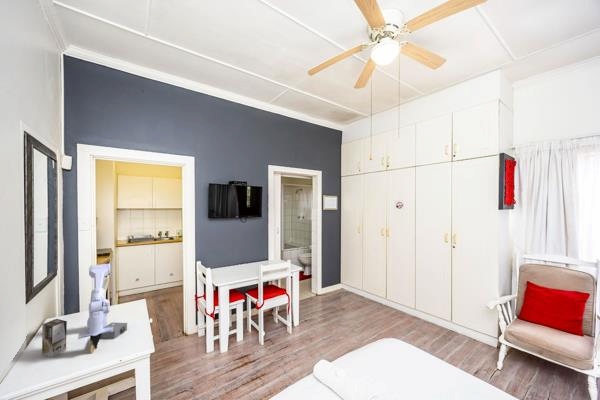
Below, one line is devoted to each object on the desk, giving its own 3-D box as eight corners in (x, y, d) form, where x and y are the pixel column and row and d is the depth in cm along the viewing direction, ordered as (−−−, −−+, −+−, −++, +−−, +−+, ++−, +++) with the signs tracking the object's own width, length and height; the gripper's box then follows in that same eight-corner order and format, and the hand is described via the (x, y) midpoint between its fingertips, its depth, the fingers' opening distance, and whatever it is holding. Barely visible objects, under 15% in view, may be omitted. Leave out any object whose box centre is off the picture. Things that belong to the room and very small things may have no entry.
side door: (96, 338, 143) (96, 332, 144) (98, 337, 144) (98, 331, 144) (90, 353, 130) (90, 345, 130) (92, 352, 130) (92, 345, 130)
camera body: (98, 338, 144) (98, 330, 144) (111, 329, 154) (111, 321, 154) (115, 338, 144) (115, 330, 144) (128, 330, 154) (128, 322, 154)
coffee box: (66, 350, 132) (67, 321, 132) (51, 357, 126) (52, 326, 126) (56, 347, 135) (57, 318, 135) (41, 353, 129) (41, 323, 129)
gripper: (77, 329, 125) (76, 356, 125) (112, 322, 133) (111, 347, 133) (79, 324, 131) (79, 349, 131) (113, 317, 139) (113, 341, 139)
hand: (95, 348), depth 132 cm, fingers closed
